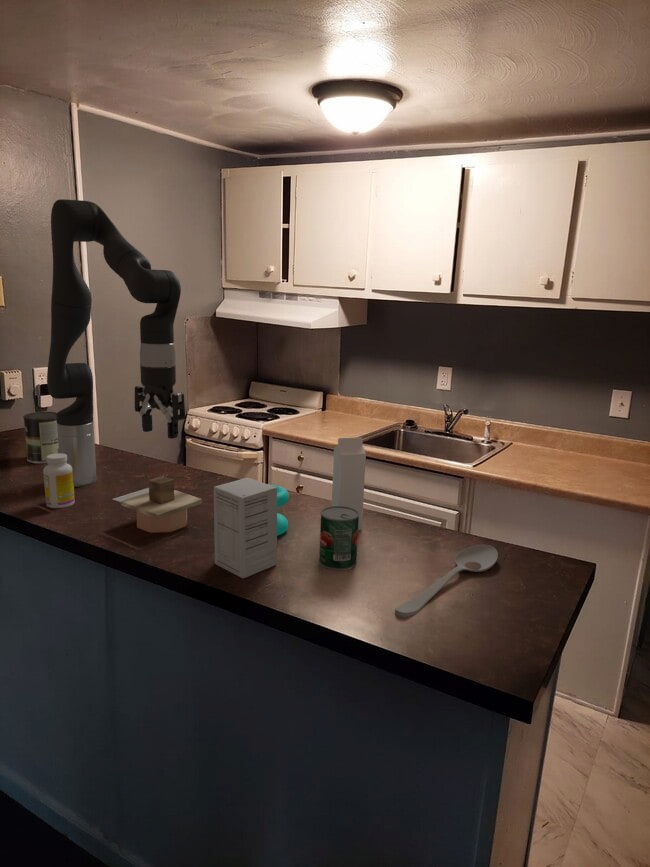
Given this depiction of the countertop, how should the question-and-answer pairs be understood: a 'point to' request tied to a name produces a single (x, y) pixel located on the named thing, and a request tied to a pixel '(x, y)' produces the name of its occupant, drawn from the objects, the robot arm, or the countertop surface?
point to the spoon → (450, 577)
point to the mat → (132, 495)
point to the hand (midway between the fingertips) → (160, 434)
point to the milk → (349, 475)
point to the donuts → (281, 500)
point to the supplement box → (245, 526)
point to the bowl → (162, 522)
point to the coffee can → (40, 436)
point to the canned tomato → (338, 537)
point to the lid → (161, 499)
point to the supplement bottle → (58, 482)
